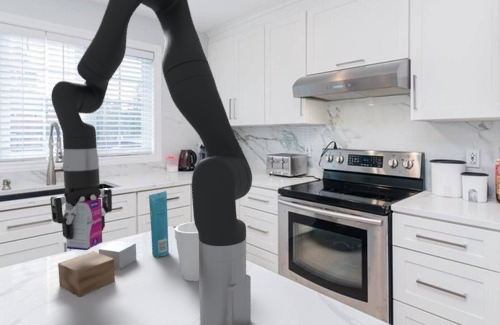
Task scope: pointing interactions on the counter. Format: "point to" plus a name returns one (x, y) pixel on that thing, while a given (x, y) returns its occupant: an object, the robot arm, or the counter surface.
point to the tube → (159, 224)
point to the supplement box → (86, 225)
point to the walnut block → (86, 273)
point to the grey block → (120, 253)
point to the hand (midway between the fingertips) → (85, 234)
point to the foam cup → (188, 250)
